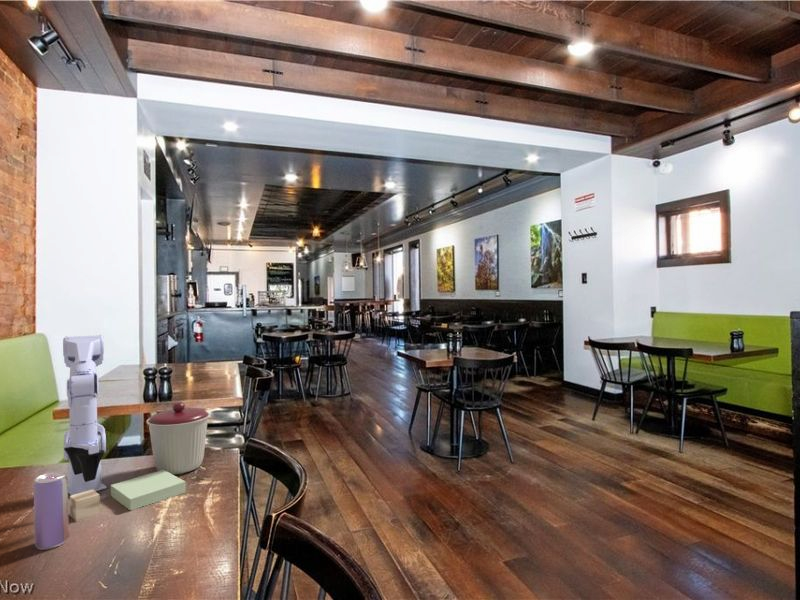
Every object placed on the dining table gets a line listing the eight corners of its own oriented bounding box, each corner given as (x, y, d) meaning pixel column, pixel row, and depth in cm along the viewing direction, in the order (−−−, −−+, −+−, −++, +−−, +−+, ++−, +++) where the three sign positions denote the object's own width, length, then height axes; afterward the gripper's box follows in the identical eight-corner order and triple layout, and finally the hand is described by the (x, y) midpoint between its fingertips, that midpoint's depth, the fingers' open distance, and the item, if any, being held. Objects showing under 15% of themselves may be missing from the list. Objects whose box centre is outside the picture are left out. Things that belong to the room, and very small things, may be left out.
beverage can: (50, 552, 98) (49, 482, 97) (27, 549, 99) (26, 480, 99) (75, 537, 103) (74, 472, 103) (53, 535, 105) (52, 470, 104)
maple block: (70, 515, 114) (69, 496, 114) (93, 508, 118) (92, 489, 118) (76, 522, 111) (76, 501, 111) (99, 514, 115) (99, 494, 115)
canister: (135, 481, 135) (134, 410, 134) (162, 459, 153) (161, 396, 152) (199, 479, 136) (197, 408, 136) (218, 457, 154) (217, 395, 154)
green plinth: (110, 495, 125) (110, 485, 125) (163, 479, 136) (163, 469, 136) (130, 510, 116) (130, 499, 116) (185, 492, 127) (185, 481, 127)
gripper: (55, 421, 116) (56, 475, 116) (74, 431, 107) (75, 489, 107) (87, 416, 121) (88, 467, 121) (108, 424, 112) (109, 479, 112)
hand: (84, 476), depth 114 cm, fingers open, 7 cm apart
